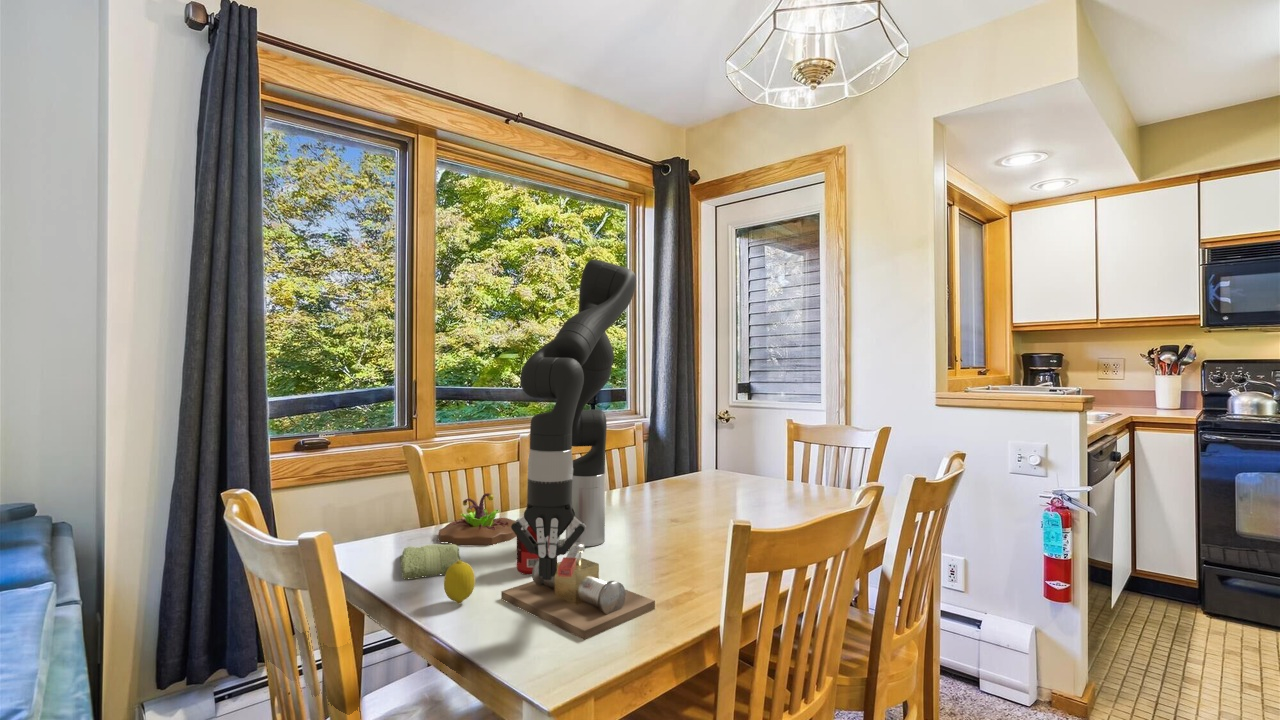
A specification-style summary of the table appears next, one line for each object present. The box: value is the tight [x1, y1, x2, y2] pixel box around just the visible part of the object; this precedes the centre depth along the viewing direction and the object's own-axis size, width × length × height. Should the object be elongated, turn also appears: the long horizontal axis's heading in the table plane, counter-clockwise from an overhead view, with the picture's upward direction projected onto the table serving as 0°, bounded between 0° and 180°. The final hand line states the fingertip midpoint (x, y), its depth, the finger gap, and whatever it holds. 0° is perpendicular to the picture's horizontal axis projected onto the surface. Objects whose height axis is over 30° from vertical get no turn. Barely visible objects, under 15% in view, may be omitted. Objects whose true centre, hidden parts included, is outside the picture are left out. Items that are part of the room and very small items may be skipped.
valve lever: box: [558, 542, 585, 577], centre depth 104 cm, size 14×3×2 cm, turn 177°
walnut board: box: [500, 580, 656, 641], centre depth 110 cm, size 24×17×2 cm
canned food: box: [516, 516, 550, 575], centre depth 129 cm, size 8×8×11 cm
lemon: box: [443, 559, 476, 605], centre depth 110 cm, size 6×6×8 cm
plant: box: [437, 492, 517, 546], centre depth 155 cm, size 20×20×11 cm
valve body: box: [531, 553, 626, 614], centre depth 110 cm, size 20×6×9 cm, turn 46°
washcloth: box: [399, 544, 461, 580], centre depth 132 cm, size 13×18×3 cm
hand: (548, 578), depth 100 cm, fingers closed
